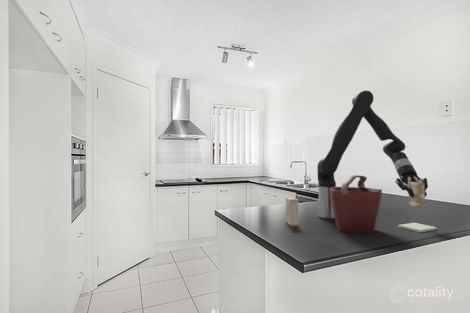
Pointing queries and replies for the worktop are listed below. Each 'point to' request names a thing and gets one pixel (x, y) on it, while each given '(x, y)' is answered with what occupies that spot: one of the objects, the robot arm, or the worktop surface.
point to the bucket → (356, 206)
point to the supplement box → (292, 211)
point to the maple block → (417, 194)
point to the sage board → (417, 227)
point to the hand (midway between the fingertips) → (418, 196)
